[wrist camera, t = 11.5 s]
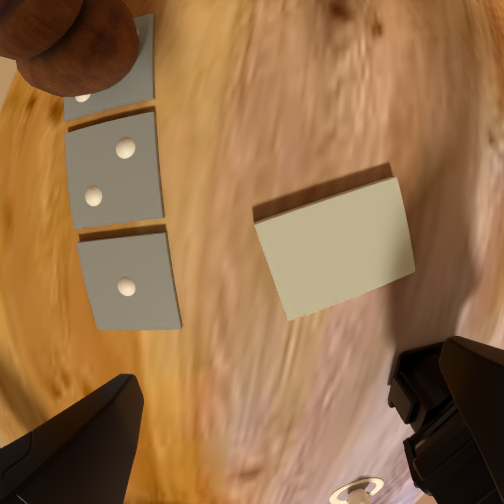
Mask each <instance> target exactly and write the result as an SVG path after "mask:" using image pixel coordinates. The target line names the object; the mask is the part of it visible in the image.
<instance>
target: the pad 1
mask: <svg viewBox="0 0 504 504" xmlns="http://www.w3.org/2000/svg"><path fill="white" fill-rule="evenodd" d="M133 19H134V22H135V25H136V29H137V33H138V37H139V42H140V46H139V52H138V58H137V60H136V62H135V64H134V66H133V67H132V69H131V71H130V72H129V73H128V74H127V75H126V76H125V77H124V78H123V79H122V80H121V81H120V82H118V83H117V84H115V85H114V86H112V87H111V88H109V89H106V90H103V91H100V92H97V93H94V94H88V95H82V96H76V97H65V99H64V121H67V122H68V121H71V120H74V119H78V118H81V117H84V116H87V115H91V114H94V113H98V112H102V111H105V110H109V109H113V108H117V107H121V106H125V105H129V104H134V103H138V102H143V101H148V100H153V99H155V82H154V22H155V16H154V14H153V13H150V14H146V15H142V16H138V17H134V18H133Z"/></svg>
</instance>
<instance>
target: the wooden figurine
mask: <svg viewBox="0 0 504 504" xmlns="http://www.w3.org/2000/svg"><path fill="white" fill-rule="evenodd" d="M139 46H140V42H139V37H138V33H137V29H136V25H135V22H134V19H133V16H132V15H131V13H130V11H129V10H128V8H127V7H126V5H125V4H124V3H123V1H122V0H0V56H2V57H5V58H9V59H13V60H16V63H17V69H18V71H19V72H20V74H21V75H22V76H23V78H24V79H25V80H26V81H27V82H28V83H29V84H30V85H31V86H33V87H36V88H38V89H40V90H43V91H45V92H48V93H51V94H54V95H57V96H61V97H76V96H82V95H88V94H94V93H97V92H100V91H103V90H106V89H109V88H111V87H112V86H114V85H115V84H117V83H118V82H120V81H121V80H122V79H123V78H124V77H125V76H126V75H127V74H128V73H129V72H130V71H131V69H132V67H133V66H134V64H135V62H136V60H137V58H138V52H139Z"/></svg>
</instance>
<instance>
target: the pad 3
mask: <svg viewBox="0 0 504 504" xmlns="http://www.w3.org/2000/svg"><path fill="white" fill-rule="evenodd" d="M77 248H78V253H79V258H80V263H81V268H82V272H83V277H84V281H85V285H86V289H87V293H88V297H89V301H90V304H91V308H92V311H93V315H94V318H95V322H96V325H97V328H98V330H172V329H182V321H181V315H180V310H179V305H178V299H177V294H176V288H175V282H174V276H173V270H172V264H171V257H170V251H169V244H168V237H167V232H158V233H149V234H140V235H131V236H122V237H113V238H105V239H96V240H88V241H80V242H78V243H77Z"/></svg>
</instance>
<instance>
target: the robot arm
mask: <svg viewBox="0 0 504 504" xmlns="http://www.w3.org/2000/svg"><path fill="white" fill-rule="evenodd" d="M404 357H405V358H404ZM403 358H404V359H403ZM388 405H389V407H391V408H393V407H395V408H396V410H397V411H398V413H399V415H400V417H401V418H402V420H403V422H404V423H405V424H410V425H411V427H412V429H413V430H414V432H415V433H414V434H413V435H412V436H411V437H409V438H407V439H406V440H404V441H403V444H404V448H405V449H404V450H405V454H406V458H407V461H408V465H409V469H410V473H411V477H412V480H413V481H414V486H415V487H416V488H420V489H421V490H422V491H423V492H424V493H426V494H427V495H429V496H433V497H434V498H435V500H436V502H437V503H438V504H504V350H502V349H499V348H495V347H492V346H489V345H486V344H483V343H479V342H476V341H473V340H470V339H467V338H463V337H460V336H453V337H449V338H447V339H446V340H445V341H444V342H441V343H438V344H434V345H430V346H427V347H423V348H419V349H415V350H411V351H407V352H403V353H401V354H400V355H399V357H398V362H397V367H396V371H395V375H394V377H393V381H392V385H391V389H390V393H389V401H388ZM143 406H144V398H143V394H142V391H141V389H140V386H139V383H138V380H137V378H136V376H135V375H133V374H119V375H118V376H116V377H115V378H113V379H112V380H110V381H109V382H107V383H106V384H104V385H103V386H101V387H100V388H98V389H96V390H95V391H93V392H92V393H90V394H89V395H87V396H86V397H84V398H83V399H81V400H80V401H78V402H76V403H75V404H73V405H72V406H70V407H69V408H67V409H65V410H64V411H62V412H61V413H59V414H58V415H56V416H54V417H53V418H51V419H50V420H48V421H46V422H45V423H43V424H42V425H40V426H38V427H37V428H35V429H34V430H33V431H32V432H31V431H30V432H29V433H27V434H25V435H24V436H22V437H20V438H19V439H17V440H15V441H14V442H12V443H10V444H8V445H6V446H4V447H3V448H0V504H123V502H124V498H125V493H126V489H127V485H128V481H129V477H130V473H131V469H132V465H133V461H134V458H135V454H136V450H137V445H138V439H139V432H140V425H141V418H142V412H143Z"/></svg>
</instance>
